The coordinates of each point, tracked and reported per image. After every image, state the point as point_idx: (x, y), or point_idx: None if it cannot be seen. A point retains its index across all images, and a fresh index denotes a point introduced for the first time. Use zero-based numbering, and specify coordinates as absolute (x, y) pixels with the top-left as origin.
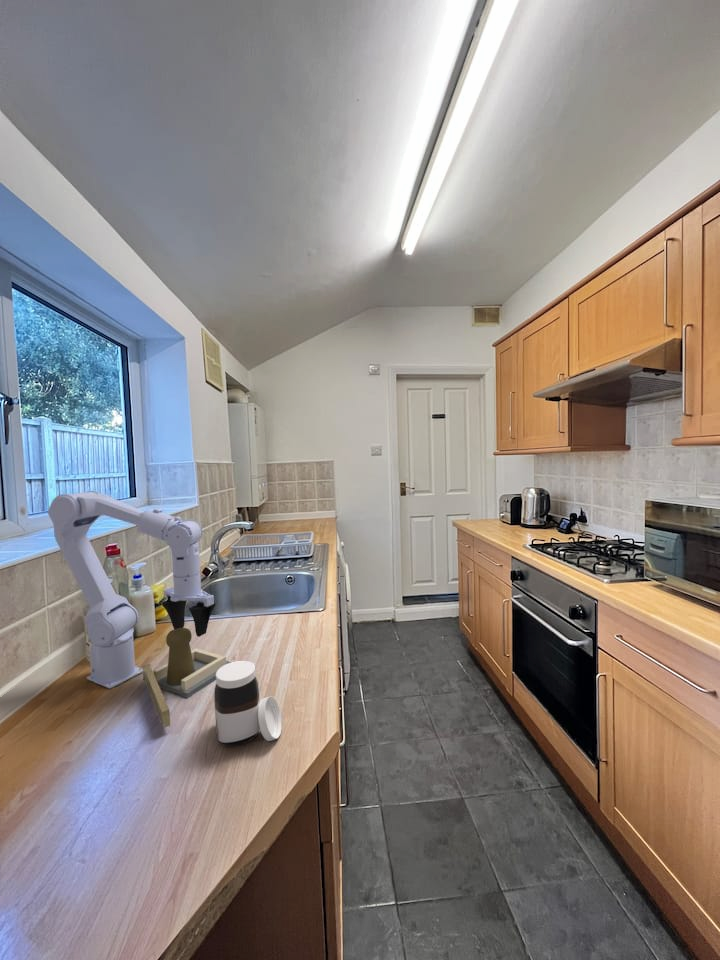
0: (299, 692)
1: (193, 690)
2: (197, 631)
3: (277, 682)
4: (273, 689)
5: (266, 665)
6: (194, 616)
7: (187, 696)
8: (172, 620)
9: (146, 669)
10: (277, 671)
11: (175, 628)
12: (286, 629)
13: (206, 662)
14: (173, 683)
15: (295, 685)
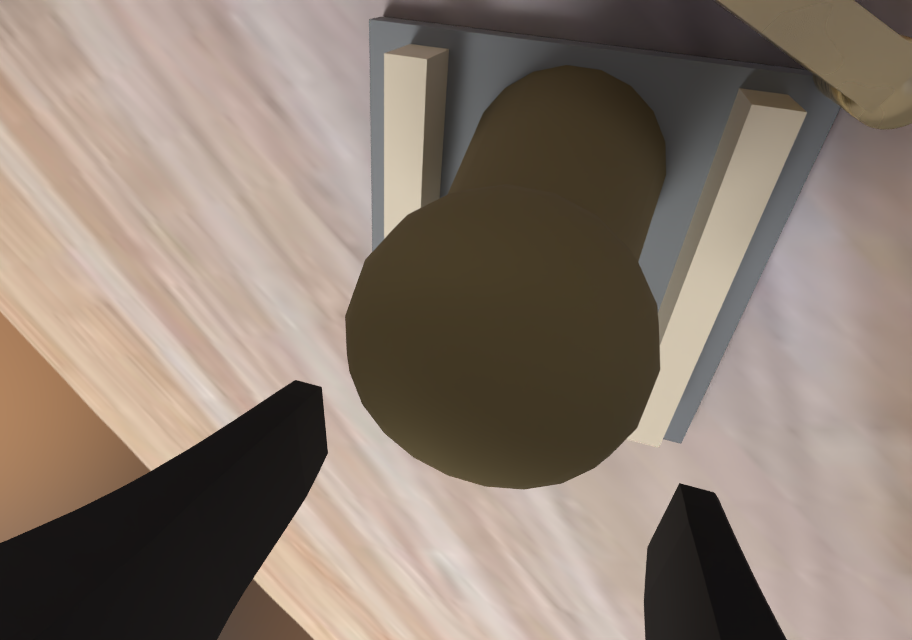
0: (8, 230)
1: (371, 72)
2: (251, 411)
3: (126, 275)
4: (94, 225)
5: (268, 381)
6: (46, 575)
7: (381, 18)
8: (732, 618)
9: (843, 19)
10: (194, 346)
11: (686, 506)
12: (410, 608)
13: None
14: (542, 73)
15: (59, 270)
